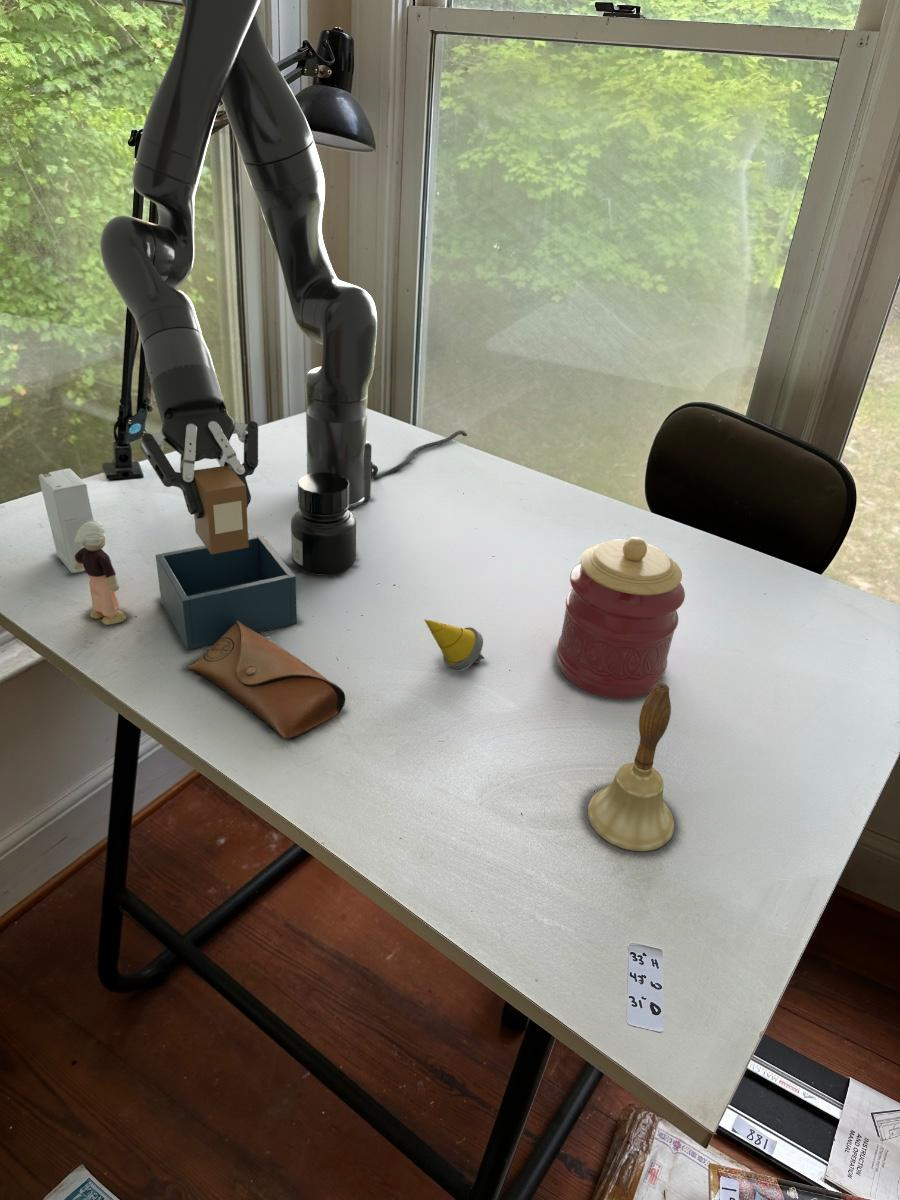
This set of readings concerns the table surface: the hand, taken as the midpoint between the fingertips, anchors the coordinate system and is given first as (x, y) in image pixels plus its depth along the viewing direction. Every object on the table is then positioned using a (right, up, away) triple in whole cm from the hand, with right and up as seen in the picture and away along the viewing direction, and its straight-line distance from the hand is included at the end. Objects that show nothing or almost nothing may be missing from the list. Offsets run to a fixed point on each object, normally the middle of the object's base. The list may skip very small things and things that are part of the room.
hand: (222, 511), depth 98 cm
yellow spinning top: (+27, -18, +2) cm, 33 cm away
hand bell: (+44, -31, -16) cm, 56 cm away
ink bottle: (+9, -5, +21) cm, 23 cm away
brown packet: (-1, -3, +3) cm, 4 cm away
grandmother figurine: (-16, -12, +6) cm, 21 cm away
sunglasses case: (+6, -20, -4) cm, 21 cm away
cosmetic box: (-24, -5, +16) cm, 29 cm away
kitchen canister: (+45, -19, +5) cm, 49 cm away
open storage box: (-2, -12, +8) cm, 15 cm away
